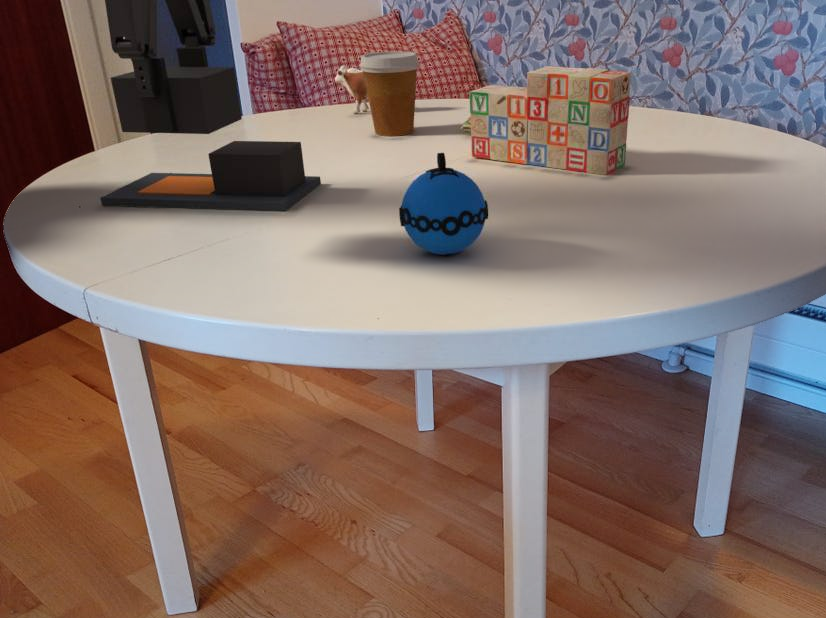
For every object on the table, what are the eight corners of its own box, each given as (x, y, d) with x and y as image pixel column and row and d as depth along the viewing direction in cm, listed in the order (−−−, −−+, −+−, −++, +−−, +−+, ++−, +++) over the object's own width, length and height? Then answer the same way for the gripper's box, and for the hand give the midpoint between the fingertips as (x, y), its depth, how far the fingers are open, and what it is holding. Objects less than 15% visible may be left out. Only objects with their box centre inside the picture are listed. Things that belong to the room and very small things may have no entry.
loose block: (122, 132, 78) (110, 77, 76) (160, 117, 84) (150, 66, 82) (208, 134, 77) (199, 78, 74) (242, 119, 83) (234, 67, 80)
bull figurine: (339, 110, 154) (335, 64, 150) (410, 109, 152) (407, 63, 149) (333, 114, 150) (328, 67, 146) (406, 114, 149) (402, 66, 145)
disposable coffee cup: (354, 136, 133) (347, 58, 127) (382, 124, 140) (377, 50, 135) (407, 140, 129) (401, 59, 124) (433, 127, 137) (429, 51, 132)
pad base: (101, 205, 101) (89, 156, 98) (153, 179, 111) (143, 135, 108) (285, 211, 97) (278, 160, 94) (321, 184, 107) (315, 137, 104)
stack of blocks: (470, 158, 117) (467, 67, 112) (492, 149, 122) (491, 62, 117) (608, 175, 107) (612, 76, 102) (626, 164, 112) (632, 70, 106)
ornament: (497, 263, 79) (495, 159, 75) (409, 271, 78) (401, 167, 73) (478, 235, 87) (475, 140, 82) (398, 243, 85) (390, 146, 81)
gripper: (103, -167, 60) (164, 147, 71) (227, -145, 78) (262, 104, 88) (13, -162, 62) (87, 145, 72) (155, -142, 79) (198, 103, 90)
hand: (183, 122), depth 80 cm, fingers closed on loose block, 7 cm apart
